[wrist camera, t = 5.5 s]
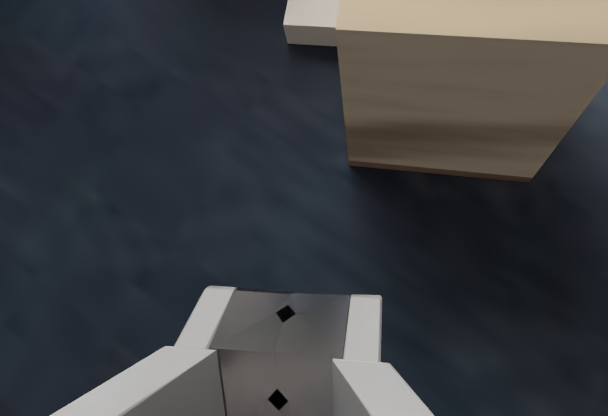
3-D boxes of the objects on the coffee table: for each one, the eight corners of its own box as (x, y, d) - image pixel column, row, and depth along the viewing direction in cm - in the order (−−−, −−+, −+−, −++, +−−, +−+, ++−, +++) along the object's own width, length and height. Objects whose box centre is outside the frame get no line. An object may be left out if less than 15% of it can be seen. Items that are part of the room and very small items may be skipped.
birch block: (528, 182, 24) (633, 45, 14) (349, 165, 25) (335, 29, 15) (532, 66, 25) (626, -125, 16) (364, 55, 27) (360, -127, 17)
